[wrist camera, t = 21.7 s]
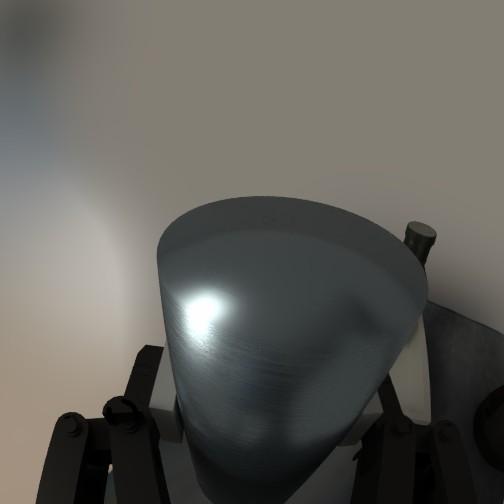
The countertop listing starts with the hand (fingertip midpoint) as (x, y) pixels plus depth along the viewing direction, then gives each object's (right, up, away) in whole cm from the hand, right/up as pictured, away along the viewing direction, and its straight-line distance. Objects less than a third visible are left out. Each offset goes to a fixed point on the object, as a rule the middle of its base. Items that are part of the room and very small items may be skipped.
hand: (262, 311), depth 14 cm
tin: (-1, -10, 0) cm, 10 cm away
